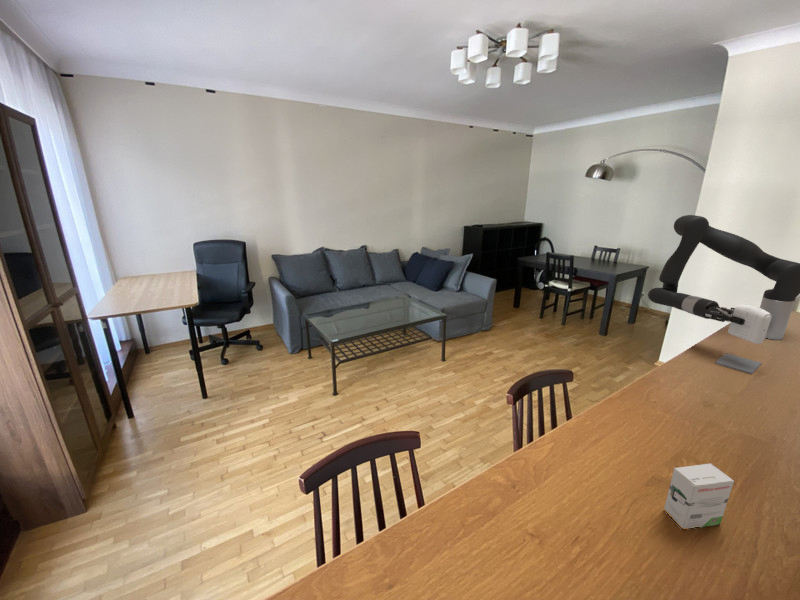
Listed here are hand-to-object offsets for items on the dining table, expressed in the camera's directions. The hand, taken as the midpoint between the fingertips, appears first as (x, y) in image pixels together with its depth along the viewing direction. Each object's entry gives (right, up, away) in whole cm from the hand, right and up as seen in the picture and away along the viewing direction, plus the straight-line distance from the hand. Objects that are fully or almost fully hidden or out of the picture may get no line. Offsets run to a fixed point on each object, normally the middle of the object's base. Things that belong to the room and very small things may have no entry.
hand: (748, 321), depth 121 cm
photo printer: (0, -7, +2) cm, 7 cm away
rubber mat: (+1, -16, +5) cm, 17 cm away
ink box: (-66, -38, -51) cm, 92 cm away
